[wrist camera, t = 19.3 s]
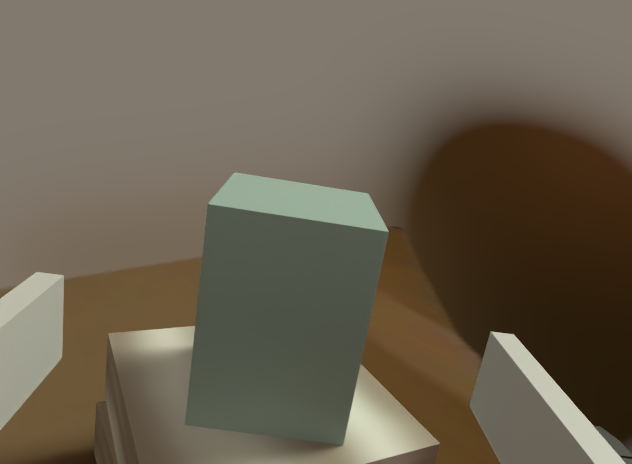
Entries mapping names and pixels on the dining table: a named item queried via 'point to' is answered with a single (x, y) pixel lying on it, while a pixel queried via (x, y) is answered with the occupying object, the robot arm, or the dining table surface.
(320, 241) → the sage block
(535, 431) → the robot arm
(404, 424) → the top block
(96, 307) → the dining table surface
